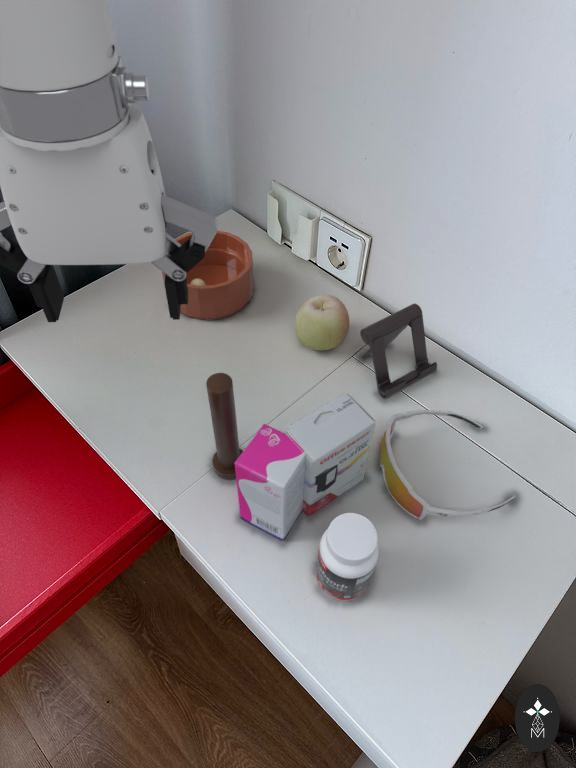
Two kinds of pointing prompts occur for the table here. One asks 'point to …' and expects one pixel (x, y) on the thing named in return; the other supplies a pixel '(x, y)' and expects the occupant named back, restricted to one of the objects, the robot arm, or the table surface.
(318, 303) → the fruit
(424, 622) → the table surface
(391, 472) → the sunglasses
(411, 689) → the table surface
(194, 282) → the ball
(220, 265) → the bowl
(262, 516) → the supplement box
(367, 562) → the pill bottle
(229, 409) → the cylinder
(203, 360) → the table surface
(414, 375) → the tablet stand
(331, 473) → the ink box
